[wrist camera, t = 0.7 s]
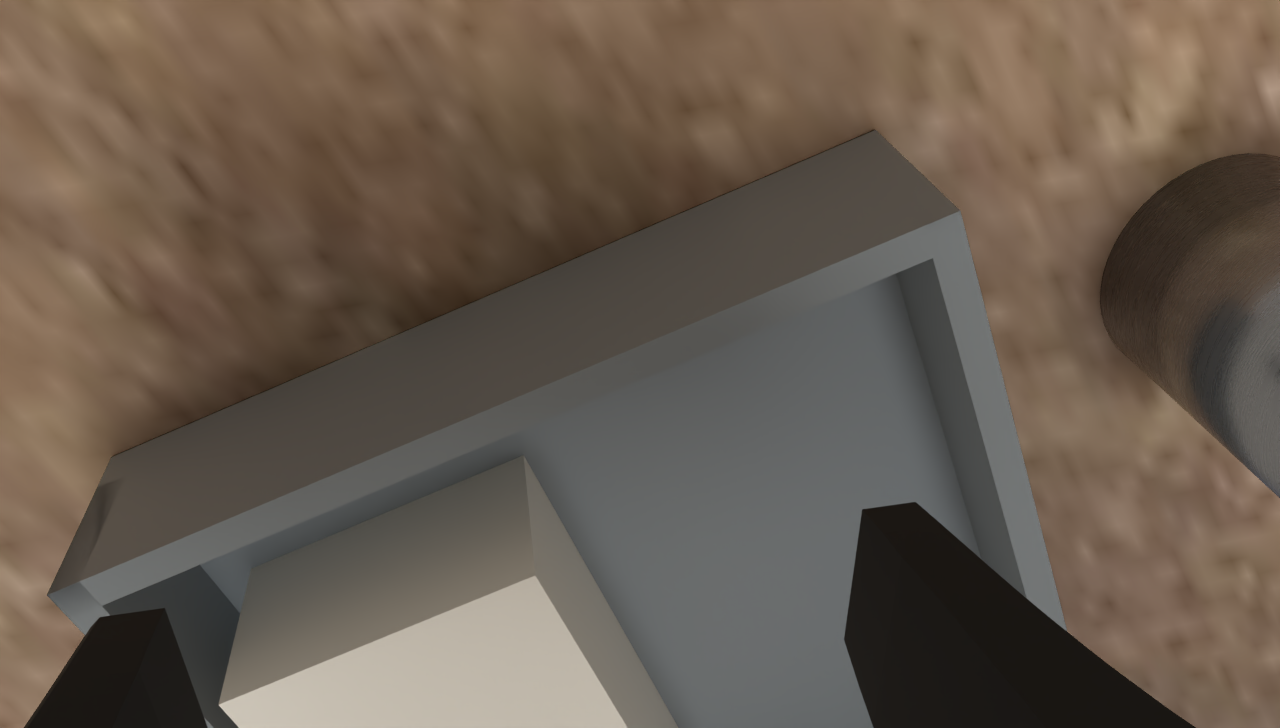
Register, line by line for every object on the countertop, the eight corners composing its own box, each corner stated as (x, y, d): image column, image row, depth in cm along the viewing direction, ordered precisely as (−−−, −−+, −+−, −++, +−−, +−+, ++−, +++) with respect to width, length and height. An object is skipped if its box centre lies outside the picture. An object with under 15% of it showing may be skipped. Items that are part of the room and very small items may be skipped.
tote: (1032, 675, 29) (1110, 804, 25) (472, 893, 30) (474, 1045, 26) (875, 129, 21) (960, 210, 17) (111, 457, 22) (46, 595, 18)
